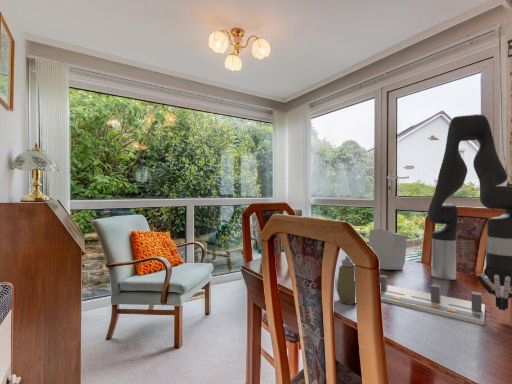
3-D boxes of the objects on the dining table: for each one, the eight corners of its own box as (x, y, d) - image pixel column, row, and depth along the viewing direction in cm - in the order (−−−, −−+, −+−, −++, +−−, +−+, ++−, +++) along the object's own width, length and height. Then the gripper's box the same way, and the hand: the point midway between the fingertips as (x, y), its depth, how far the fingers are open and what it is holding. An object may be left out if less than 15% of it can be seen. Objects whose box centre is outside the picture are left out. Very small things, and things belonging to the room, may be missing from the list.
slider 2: (472, 306, 92) (472, 291, 92) (481, 308, 91) (481, 292, 91) (471, 309, 90) (471, 293, 90) (481, 311, 88) (481, 295, 88)
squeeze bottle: (333, 297, 104) (333, 248, 104) (354, 297, 105) (355, 247, 104) (341, 306, 96) (342, 252, 96) (365, 305, 96) (365, 252, 96)
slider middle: (432, 298, 99) (432, 284, 99) (440, 300, 98) (440, 285, 98) (430, 300, 97) (431, 286, 97) (439, 302, 95) (439, 287, 95)
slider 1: (380, 287, 110) (380, 274, 110) (387, 289, 108) (387, 275, 108) (378, 289, 108) (378, 276, 108) (385, 291, 106) (385, 277, 106)
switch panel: (383, 287, 116) (383, 283, 116) (484, 307, 95) (485, 303, 95) (370, 298, 103) (370, 294, 103) (484, 325, 83) (484, 319, 83)
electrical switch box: (410, 273, 143) (414, 233, 145) (390, 272, 137) (394, 230, 138) (385, 266, 157) (389, 229, 158) (365, 265, 150) (370, 227, 151)
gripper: (530, 253, 85) (530, 311, 85) (475, 247, 94) (474, 300, 94) (533, 257, 79) (533, 319, 79) (474, 251, 88) (473, 307, 88)
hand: (501, 309), depth 87 cm, fingers closed
